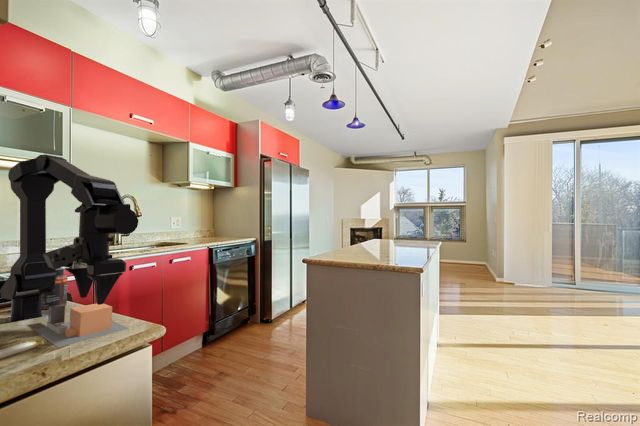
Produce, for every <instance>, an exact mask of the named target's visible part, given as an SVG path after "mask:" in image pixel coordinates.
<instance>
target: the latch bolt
mask: <svg viewBox="0 0 640 426" xmlns="http://www.w3.org/2000/svg"><path fill="white" fill-rule="evenodd" d="M65 315H66V306H65V305H63V304H62V305H56V306H50V307H49V310H43V311H42V317H41V318H43V319H44V320H46V321H48V323H49V324H55V325H61V324H64V323H65V320H66V319H65V318H66V317H65Z"/></svg>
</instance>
